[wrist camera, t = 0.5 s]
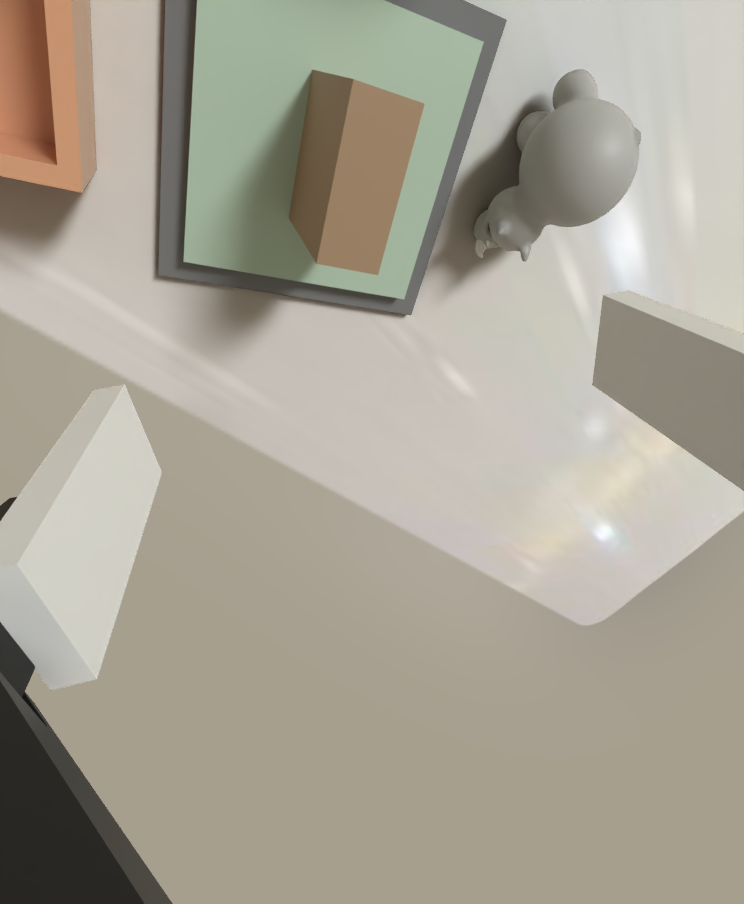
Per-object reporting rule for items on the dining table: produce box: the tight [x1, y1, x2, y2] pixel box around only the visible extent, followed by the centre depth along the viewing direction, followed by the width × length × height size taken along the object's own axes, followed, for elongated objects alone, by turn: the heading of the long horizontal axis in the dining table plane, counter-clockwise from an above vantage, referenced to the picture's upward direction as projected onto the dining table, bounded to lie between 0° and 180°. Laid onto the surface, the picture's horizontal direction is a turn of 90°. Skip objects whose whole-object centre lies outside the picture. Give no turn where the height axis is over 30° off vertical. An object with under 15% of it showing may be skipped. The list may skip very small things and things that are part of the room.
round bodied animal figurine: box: [473, 70, 641, 261], centre depth 34 cm, size 7×12×8 cm, turn 140°
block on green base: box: [183, 0, 484, 299], centre depth 28 cm, size 16×16×10 cm
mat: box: [158, 0, 506, 315], centre depth 32 cm, size 19×19×1 cm
